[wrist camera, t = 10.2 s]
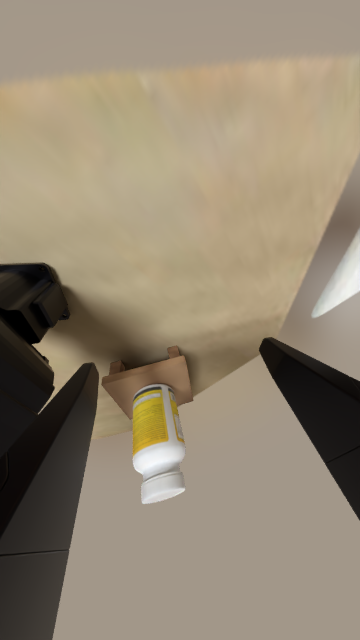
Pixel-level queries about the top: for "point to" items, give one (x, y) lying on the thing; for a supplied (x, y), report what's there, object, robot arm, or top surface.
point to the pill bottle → (157, 443)
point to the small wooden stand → (148, 380)
